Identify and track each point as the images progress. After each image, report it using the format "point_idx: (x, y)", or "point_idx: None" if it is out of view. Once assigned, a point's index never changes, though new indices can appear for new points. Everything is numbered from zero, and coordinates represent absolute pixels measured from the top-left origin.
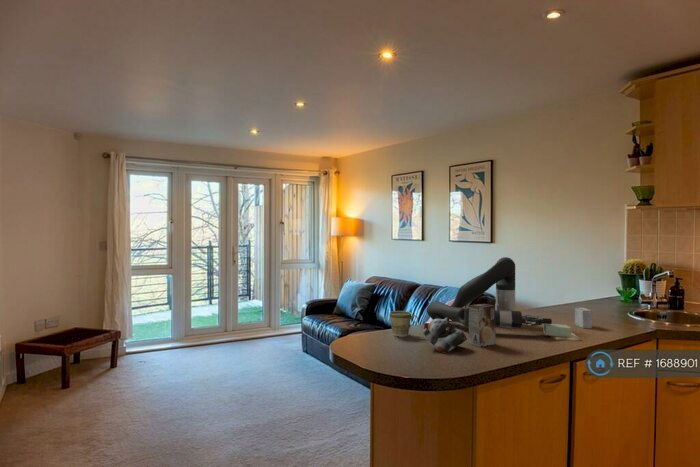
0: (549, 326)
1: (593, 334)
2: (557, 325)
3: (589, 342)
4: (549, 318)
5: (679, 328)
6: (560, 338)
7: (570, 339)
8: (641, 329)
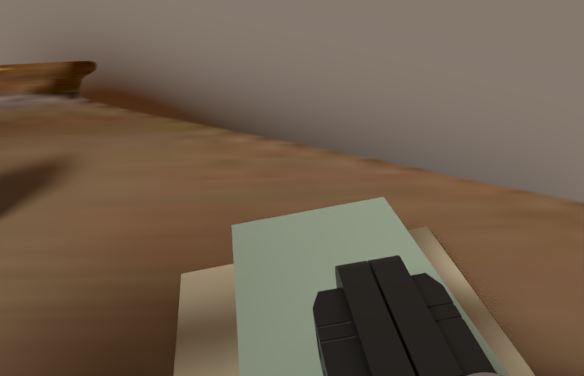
0: (495, 364)
1: (163, 199)
2: (329, 284)
3: (441, 203)
4: (343, 275)
5: (31, 73)
6: (515, 351)
7: (465, 283)
8: (35, 110)
